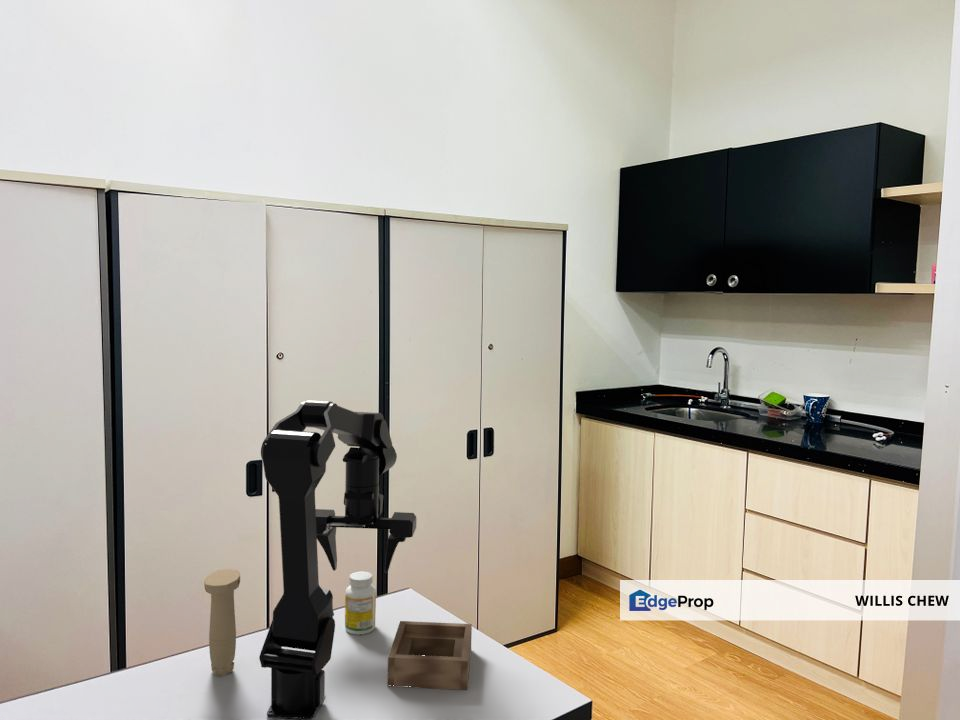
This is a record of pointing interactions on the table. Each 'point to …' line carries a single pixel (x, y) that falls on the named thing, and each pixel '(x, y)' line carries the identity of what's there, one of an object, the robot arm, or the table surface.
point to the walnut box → (430, 655)
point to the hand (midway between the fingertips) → (360, 570)
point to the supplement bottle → (360, 604)
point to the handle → (222, 619)
